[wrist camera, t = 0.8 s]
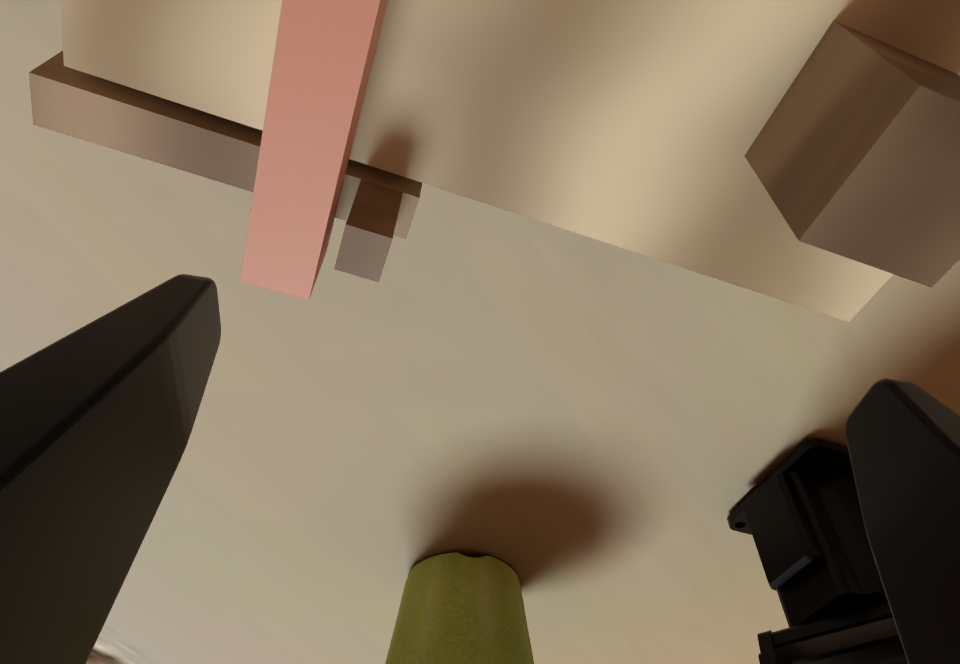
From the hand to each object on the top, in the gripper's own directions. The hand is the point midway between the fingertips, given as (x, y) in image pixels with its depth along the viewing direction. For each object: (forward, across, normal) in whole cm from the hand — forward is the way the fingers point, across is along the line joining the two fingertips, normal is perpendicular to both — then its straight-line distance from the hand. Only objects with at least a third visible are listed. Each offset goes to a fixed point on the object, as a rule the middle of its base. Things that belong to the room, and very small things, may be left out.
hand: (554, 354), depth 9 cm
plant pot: (+13, -3, +28) cm, 30 cm away
